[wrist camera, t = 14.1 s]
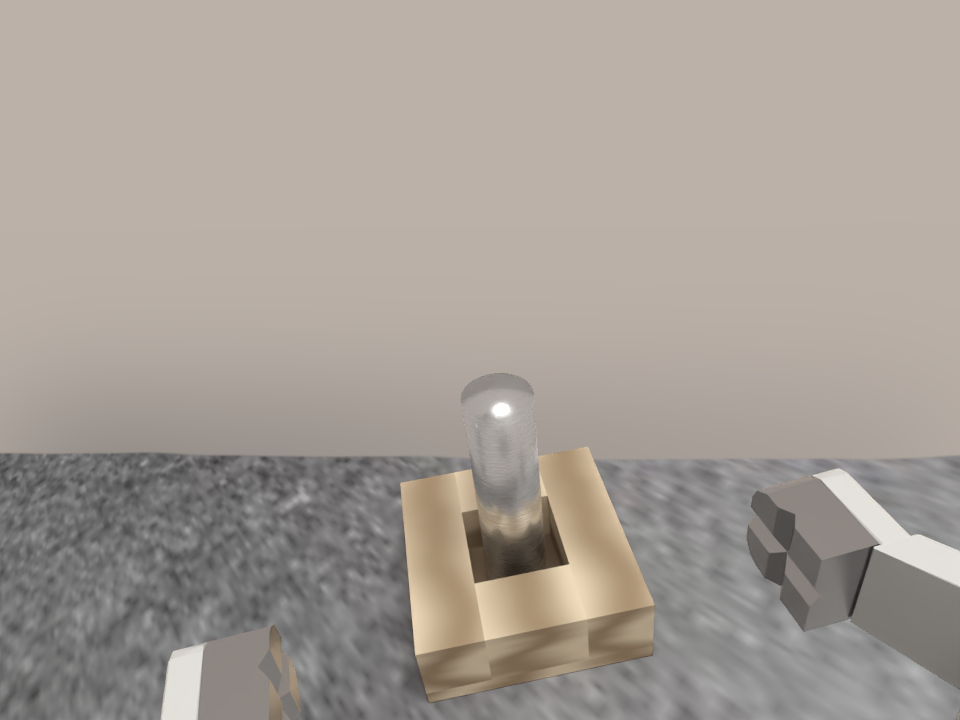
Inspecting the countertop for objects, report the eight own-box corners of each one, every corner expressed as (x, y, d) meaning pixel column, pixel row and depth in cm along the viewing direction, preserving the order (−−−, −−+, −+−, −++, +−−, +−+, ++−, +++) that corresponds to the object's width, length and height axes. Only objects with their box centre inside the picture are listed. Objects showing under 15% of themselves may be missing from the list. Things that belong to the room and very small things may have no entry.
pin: (493, 606, 47) (466, 426, 37) (483, 558, 50) (456, 380, 40) (553, 594, 47) (541, 412, 38) (539, 546, 50) (524, 367, 41)
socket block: (429, 702, 43) (415, 655, 40) (412, 529, 55) (400, 483, 52) (652, 654, 44) (654, 605, 41) (589, 494, 55) (587, 446, 53)
